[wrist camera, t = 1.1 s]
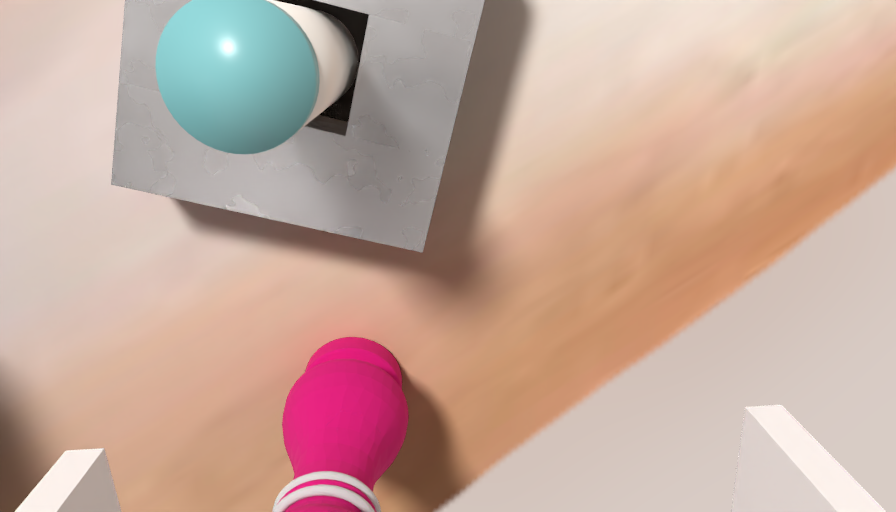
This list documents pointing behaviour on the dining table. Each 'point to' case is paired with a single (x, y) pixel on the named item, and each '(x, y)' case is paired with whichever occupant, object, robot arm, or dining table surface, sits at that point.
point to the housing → (315, 129)
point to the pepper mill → (342, 427)
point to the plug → (252, 70)
